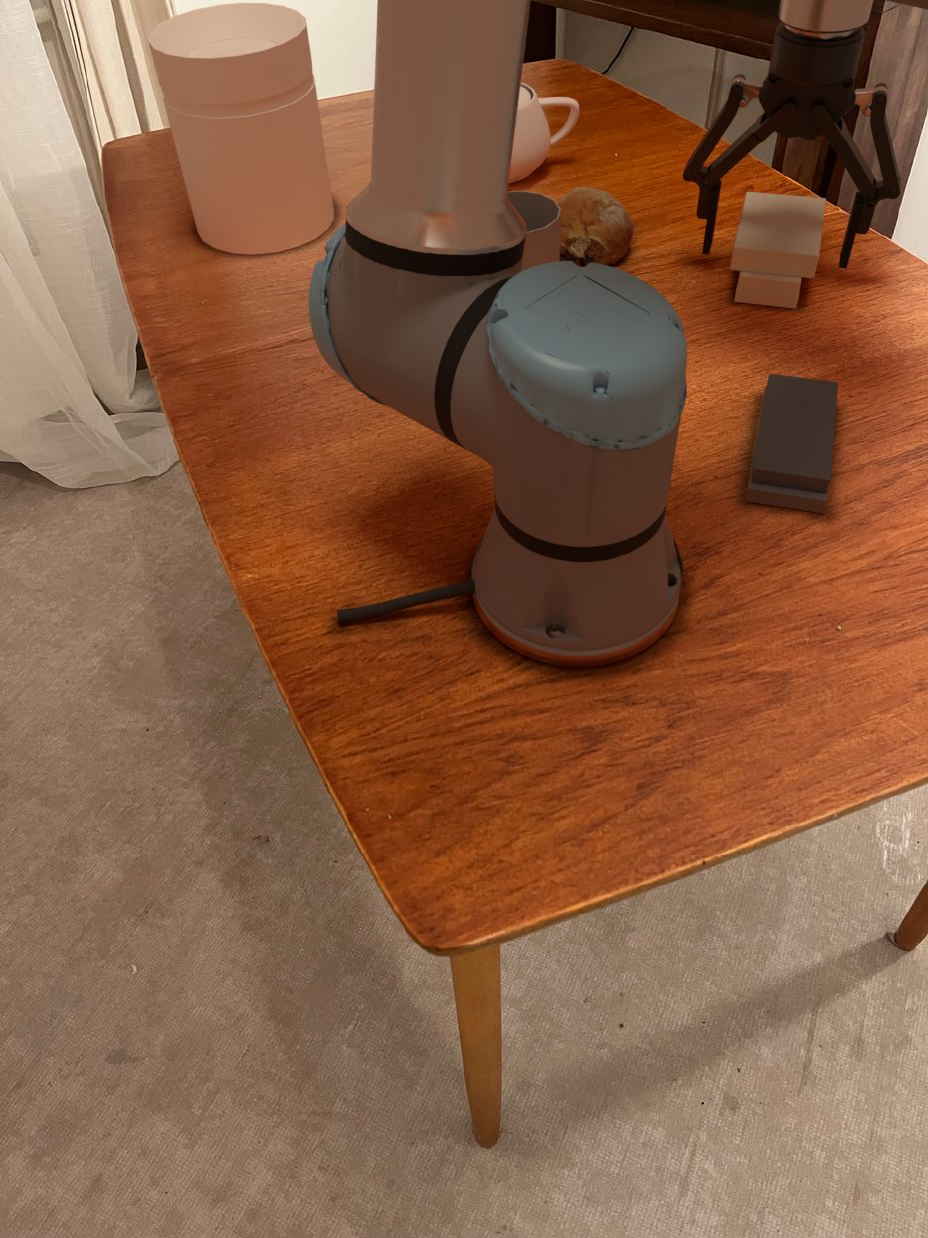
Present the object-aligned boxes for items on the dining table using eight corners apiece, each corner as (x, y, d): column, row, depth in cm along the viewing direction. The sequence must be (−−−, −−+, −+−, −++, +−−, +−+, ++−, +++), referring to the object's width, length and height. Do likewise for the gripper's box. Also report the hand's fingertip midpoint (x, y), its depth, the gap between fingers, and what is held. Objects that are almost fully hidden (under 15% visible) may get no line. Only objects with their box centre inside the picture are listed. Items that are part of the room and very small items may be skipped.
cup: (550, 333, 96) (553, 235, 88) (468, 327, 97) (463, 230, 90) (562, 288, 101) (565, 192, 94) (484, 283, 103) (481, 188, 95)
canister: (190, 201, 118) (142, 15, 103) (321, 179, 121) (292, -6, 106) (205, 265, 108) (153, 68, 93) (347, 239, 110) (319, 43, 95)
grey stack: (822, 513, 77) (831, 486, 75) (745, 501, 79) (751, 474, 77) (832, 408, 86) (839, 381, 84) (762, 399, 87) (768, 372, 85)
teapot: (568, 138, 125) (571, 45, 117) (586, 186, 116) (591, 89, 108) (396, 153, 125) (388, 60, 117) (401, 202, 116) (392, 106, 107)
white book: (813, 278, 95) (819, 255, 93) (729, 269, 97) (733, 246, 95) (821, 220, 103) (826, 197, 101) (742, 213, 104) (746, 190, 103)
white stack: (795, 308, 97) (801, 282, 95) (734, 301, 98) (738, 276, 96) (805, 240, 106) (811, 215, 103) (748, 234, 107) (753, 209, 105)
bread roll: (636, 282, 108) (661, 207, 104) (585, 280, 101) (611, 198, 97) (566, 254, 113) (588, 181, 109) (513, 250, 105) (534, 171, 101)
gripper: (974, 16, 84) (902, 249, 100) (682, 2, 90) (658, 225, 106) (978, 47, 80) (902, 286, 95) (670, 30, 85) (646, 259, 101)
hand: (774, 255), depth 101 cm, fingers open, 13 cm apart
